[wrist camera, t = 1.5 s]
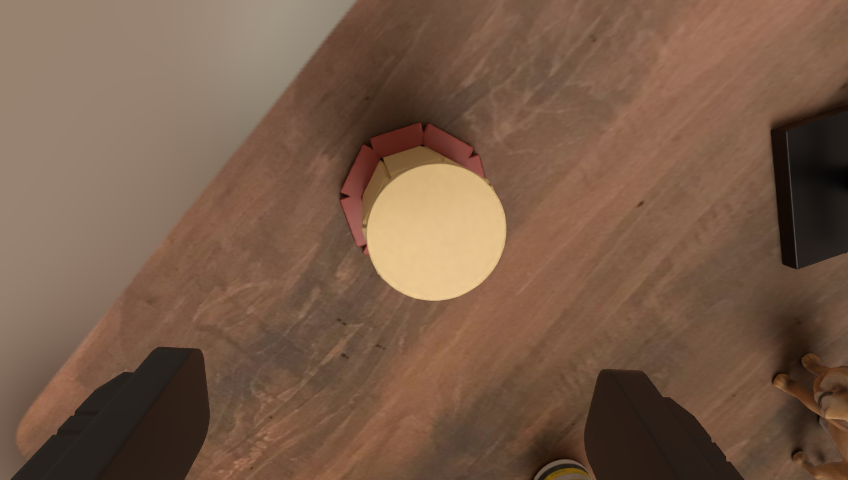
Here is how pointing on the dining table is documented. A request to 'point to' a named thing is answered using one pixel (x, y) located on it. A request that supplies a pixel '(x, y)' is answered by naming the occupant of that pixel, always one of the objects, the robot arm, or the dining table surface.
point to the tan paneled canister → (424, 212)
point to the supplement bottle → (563, 471)
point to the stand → (812, 187)
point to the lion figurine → (823, 413)
